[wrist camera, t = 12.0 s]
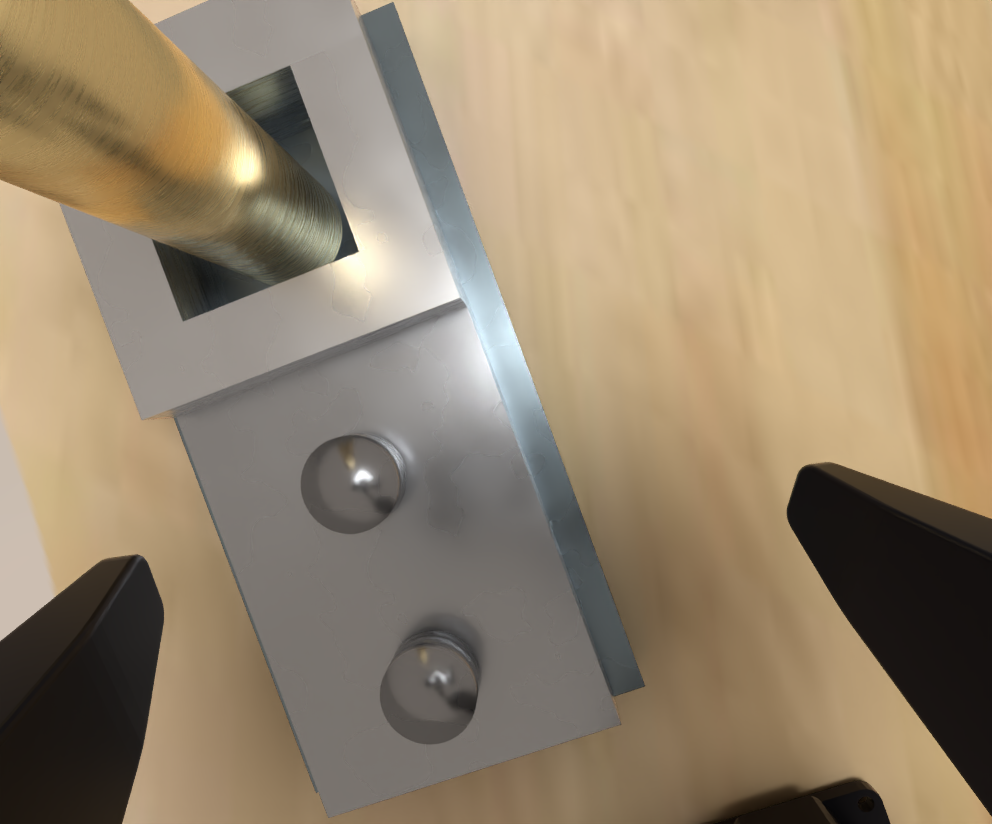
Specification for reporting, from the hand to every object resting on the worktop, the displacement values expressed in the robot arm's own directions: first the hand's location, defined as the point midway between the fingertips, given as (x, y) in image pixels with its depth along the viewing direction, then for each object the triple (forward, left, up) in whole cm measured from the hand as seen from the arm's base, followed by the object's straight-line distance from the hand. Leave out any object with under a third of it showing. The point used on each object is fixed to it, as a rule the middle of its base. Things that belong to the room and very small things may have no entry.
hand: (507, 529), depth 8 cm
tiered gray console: (+3, +4, -11) cm, 13 cm away
